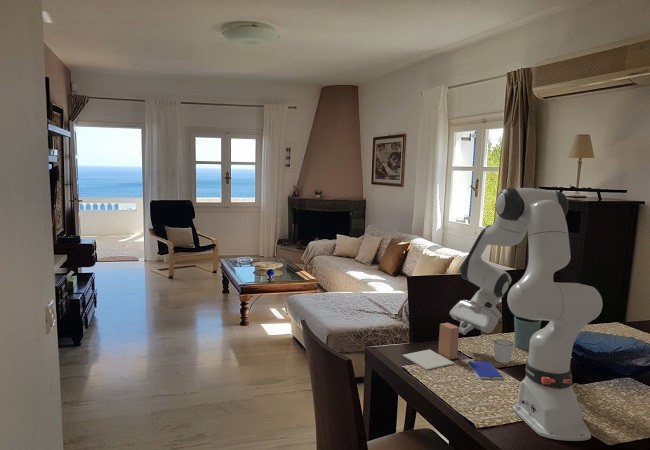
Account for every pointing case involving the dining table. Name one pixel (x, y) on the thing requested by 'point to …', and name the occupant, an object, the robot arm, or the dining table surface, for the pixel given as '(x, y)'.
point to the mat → (428, 359)
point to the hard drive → (485, 370)
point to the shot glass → (503, 350)
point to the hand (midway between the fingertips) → (461, 332)
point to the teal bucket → (525, 331)
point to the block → (448, 340)
